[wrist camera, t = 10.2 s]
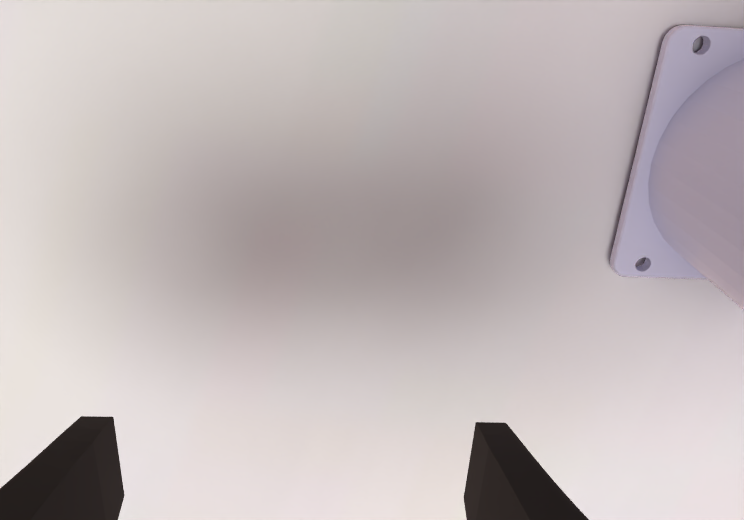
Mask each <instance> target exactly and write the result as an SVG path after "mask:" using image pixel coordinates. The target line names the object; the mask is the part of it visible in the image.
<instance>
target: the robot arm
mask: <svg viewBox="0 0 744 520" xmlns="http://www.w3.org/2000/svg"><path fill="white" fill-rule="evenodd" d="M700 36H702V38H703V46H702V48H701V49H700V50H699V51H698V52H696V53H694V52H693V50H692V45H693V43H694V41H695V40H696V39H697V38H698V37H700ZM644 257H646V260H645V262H644V263H643V264H642V265H641V266H635V264H636V262H637V261H638V260H639V259H640V258H644ZM610 265H611V267H612V269H613V270H614V271H615V272H616V273H617V274H618V275H619V276H624V277H650V278H682V279H708V280H709V281H710V282H712V283H713V284H714V285H715V286H716V287H717V288H718V289H720V290H721V291H722V292H723V293H724V294H725V295H727V296H728V297H729V298H730V299H731V300H732V301H734V302H735V303H736V304H737V305H738V306H739V307H740V308H742V309H743V310H744V29H743V28H727V27H711V26H694V25H679V26H676V27H674V28H672V29H670V30H669V32H668V33H667V34H666V35H665V37H664V39H663V42H662V46H661V50H660V54H659V58H658V62H657V66H656V71H655V75H654V79H653V83H652V87H651V91H650V95H649V100H648V104H647V108H646V112H645V116H644V120H643V125H642V129H641V133H640V137H639V141H638V145H637V149H636V154H635V158H634V162H633V166H632V170H631V174H630V179H629V183H628V187H627V191H626V195H625V199H624V203H623V208H622V212H621V216H620V220H619V224H618V228H617V233H616V237H615V241H614V245H613V249H612V253H611V257H610ZM123 498H124V490H123V483H122V476H121V469H120V462H119V455H118V448H117V441H116V433H115V426H114V419H113V417H83V416H81V417H80V418H79V419H78V420H77V421H76V422H75V423H73V424H72V425H71V426H70V427H69V428H68V429H66V430H65V431H64V432H63V433H62V434H61V435H60V436H59V437H58V438H56V439H55V440H54V441H53V442H52V443H51V444H50V445H49V446H48V447H47V448H45V449H44V450H43V451H42V452H41V453H40V454H39V455H38V456H37V457H36V458H34V459H33V460H32V461H31V462H30V463H29V464H28V465H27V466H26V467H24V468H23V469H22V470H21V471H20V472H19V473H18V474H16V475H15V476H14V477H13V478H12V479H11V480H10V481H8V482H7V483H6V484H5V485H4V486H3V487H1V488H0V520H118V517H119V513H120V509H121V506H122V502H123ZM464 503H465V510H466V517H467V520H589V519H588V518H587V517H586V516H585V515H584V514H583V513H582V512H581V511H580V510H579V509H578V508H577V507H576V506H575V505H574V503H573V502H572V501H571V500H570V499H569V498H568V497H567V496H566V494H565V493H564V492H563V491H562V490H561V489H560V488H559V487H558V485H557V484H556V483H555V482H554V481H553V480H552V479H551V477H550V476H549V475H548V474H547V473H546V471H545V470H544V469H543V468H542V467H541V465H540V464H539V463H538V462H537V461H536V459H535V458H534V457H533V456H532V455H531V453H530V452H529V451H528V450H527V448H526V447H525V446H524V445H523V443H522V442H521V441H520V440H519V438H518V437H517V436H516V435H515V433H514V432H513V431H512V430H511V429H510V427H509V426H508V425H507V424H506V423H483V422H476V425H475V431H474V438H473V444H472V450H471V456H470V462H469V468H468V475H467V481H466V487H465V493H464Z"/></svg>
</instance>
